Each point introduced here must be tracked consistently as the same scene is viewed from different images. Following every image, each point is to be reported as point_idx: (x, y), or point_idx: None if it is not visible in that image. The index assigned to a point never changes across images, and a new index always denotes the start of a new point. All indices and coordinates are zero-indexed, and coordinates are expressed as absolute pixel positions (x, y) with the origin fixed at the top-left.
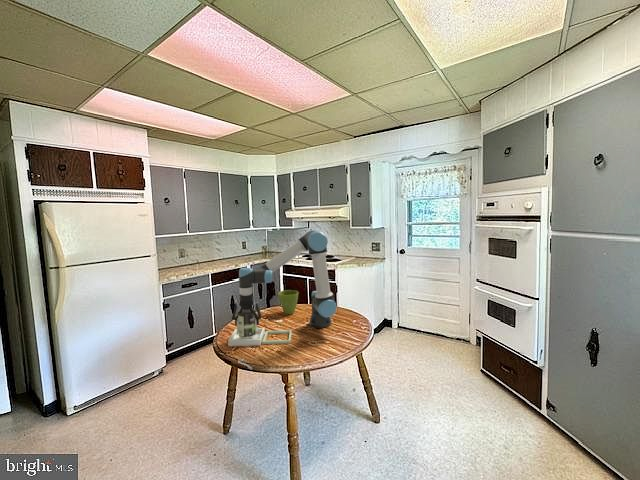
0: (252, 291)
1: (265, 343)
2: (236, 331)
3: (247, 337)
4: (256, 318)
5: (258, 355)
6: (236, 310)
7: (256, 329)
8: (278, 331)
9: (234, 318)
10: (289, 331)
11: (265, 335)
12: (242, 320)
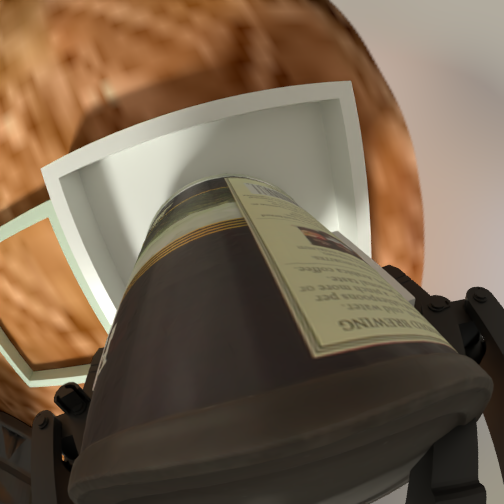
0: None
1: (43, 202)
2: None
3: (188, 186)
4: (85, 416)
5: (30, 25)
6: (498, 436)
7: (120, 301)
8: (73, 375)
9: (461, 315)
10: (31, 378)
11: (99, 311)
12: (306, 265)
